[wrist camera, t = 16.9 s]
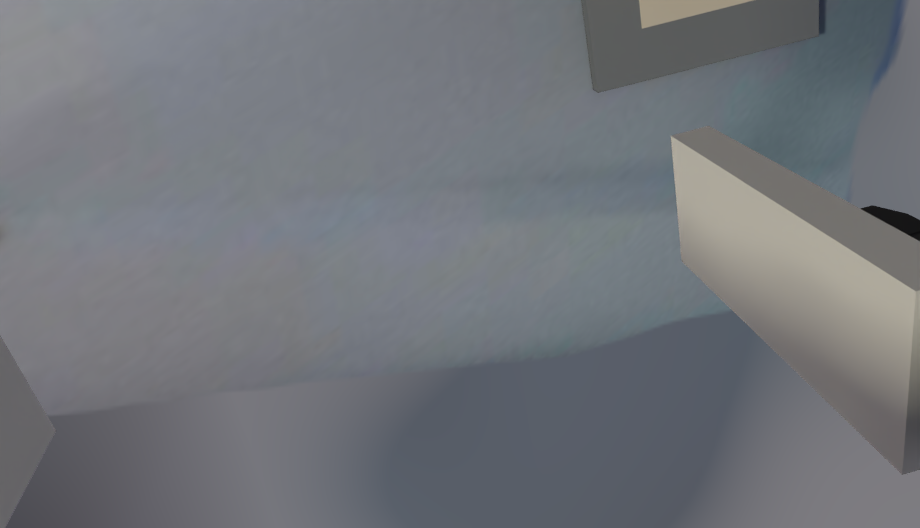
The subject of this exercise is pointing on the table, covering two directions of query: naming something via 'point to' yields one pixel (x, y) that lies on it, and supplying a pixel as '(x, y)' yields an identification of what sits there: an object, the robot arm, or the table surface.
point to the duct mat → (685, 34)
